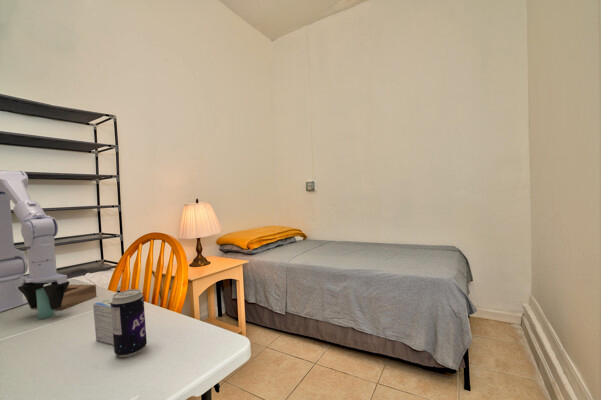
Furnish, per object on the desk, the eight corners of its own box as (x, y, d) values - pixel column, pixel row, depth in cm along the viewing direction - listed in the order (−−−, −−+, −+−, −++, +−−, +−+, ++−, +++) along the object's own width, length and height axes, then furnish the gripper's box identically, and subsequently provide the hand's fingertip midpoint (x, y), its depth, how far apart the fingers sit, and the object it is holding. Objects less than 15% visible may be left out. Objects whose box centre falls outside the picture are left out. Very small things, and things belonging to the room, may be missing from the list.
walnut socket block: (34, 308, 86) (33, 296, 86) (71, 295, 97) (70, 284, 97) (62, 309, 84) (61, 296, 84) (96, 296, 94) (95, 284, 94)
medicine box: (137, 337, 63) (134, 299, 63) (117, 347, 59) (114, 307, 59) (115, 332, 66) (112, 296, 66) (95, 341, 62) (92, 303, 62)
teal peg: (34, 319, 78) (32, 290, 78) (48, 313, 81) (46, 286, 81) (44, 319, 77) (42, 290, 77) (57, 314, 81) (55, 286, 80)
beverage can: (136, 358, 54) (131, 297, 54) (107, 360, 54) (103, 299, 54) (152, 343, 60) (148, 287, 60) (126, 344, 60) (122, 289, 60)
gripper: (6, 264, 77) (9, 313, 77) (45, 263, 73) (49, 314, 74) (35, 258, 84) (39, 303, 84) (73, 257, 80) (76, 304, 81)
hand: (45, 308), depth 79 cm, fingers open, 7 cm apart
